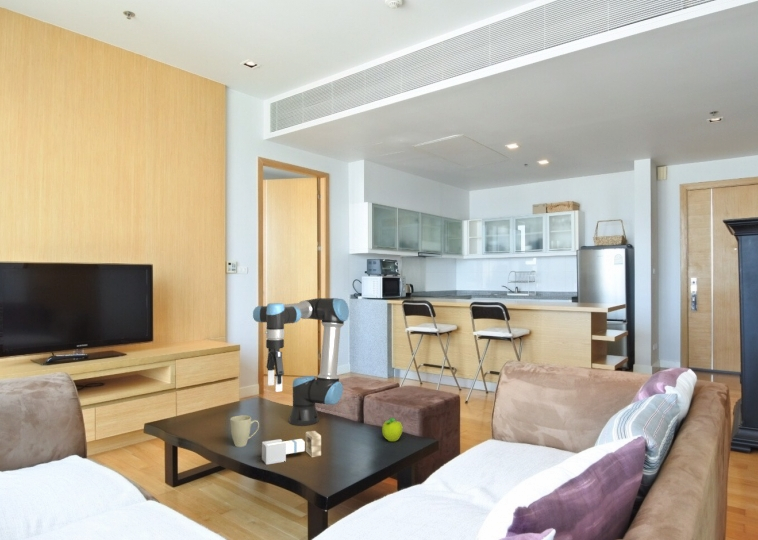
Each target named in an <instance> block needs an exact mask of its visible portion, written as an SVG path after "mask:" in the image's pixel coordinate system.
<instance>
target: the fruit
mask: <svg viewBox="0 0 758 540" xmlns="http://www.w3.org/2000/svg"><path fill="white" fill-rule="evenodd" d="M403 428H404V427H403V425H402V423H401V422H400V421H396V418H394V417H390V418H389V419H388V420H385V421H384V422H383V424H382V427H381V431H382V432H381V433H382V436H383V437H384V438H385V439H386V440H387V441H388V442H397V441H398V440H399V439H400V437H401V435H402V434H403V431H404V430H403Z"/></svg>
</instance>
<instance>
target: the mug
mask: <svg viewBox="0 0 758 540" xmlns="http://www.w3.org/2000/svg"><path fill="white" fill-rule="evenodd" d="M229 420H230V421H229V422H230V432H231V437H232V441H233V443H234V447H237V448H243V447H245V446H247V444H248V441H249V439H251V438H252V437H253V436H255V435H256V434H257V432H258V430H259V429H260V422H259V421H258V420H256V419H253V420H252V417H251V416H250V415H245V414H244V415H236V416H235V415H234V416H232V417H230V419H229ZM254 423H257V427H256V430H255V431H254V432H253V433H252V434H251V429H252V428H251V426H252V425H253V424H254ZM250 434H251V435H250Z"/></svg>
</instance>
